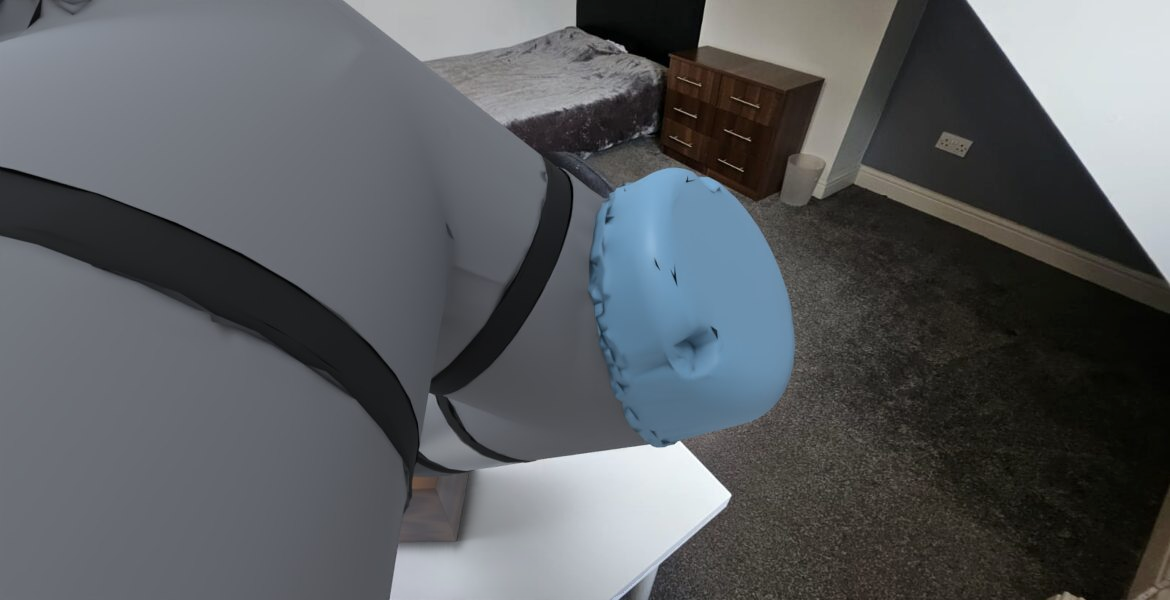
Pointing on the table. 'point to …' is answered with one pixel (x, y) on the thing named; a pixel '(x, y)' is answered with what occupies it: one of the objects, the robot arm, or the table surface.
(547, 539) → the table surface
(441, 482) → the block
